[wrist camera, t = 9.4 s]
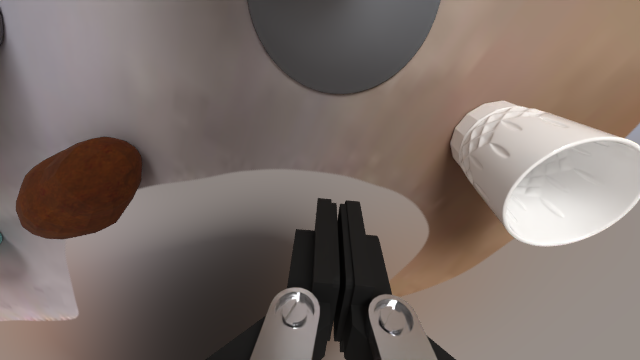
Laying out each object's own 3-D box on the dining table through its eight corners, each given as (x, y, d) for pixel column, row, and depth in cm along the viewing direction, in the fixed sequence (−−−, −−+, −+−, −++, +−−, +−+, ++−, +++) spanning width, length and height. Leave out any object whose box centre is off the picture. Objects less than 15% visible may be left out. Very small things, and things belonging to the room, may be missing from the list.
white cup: (550, 133, 24) (672, 195, 16) (473, 188, 27) (540, 263, 19) (504, 72, 22) (619, 106, 13) (425, 140, 25) (477, 202, 16)
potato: (175, 167, 27) (124, 217, 20) (115, 221, 31) (55, 278, 24) (105, 109, 24) (17, 143, 17) (48, 176, 28) (-42, 226, 21)
